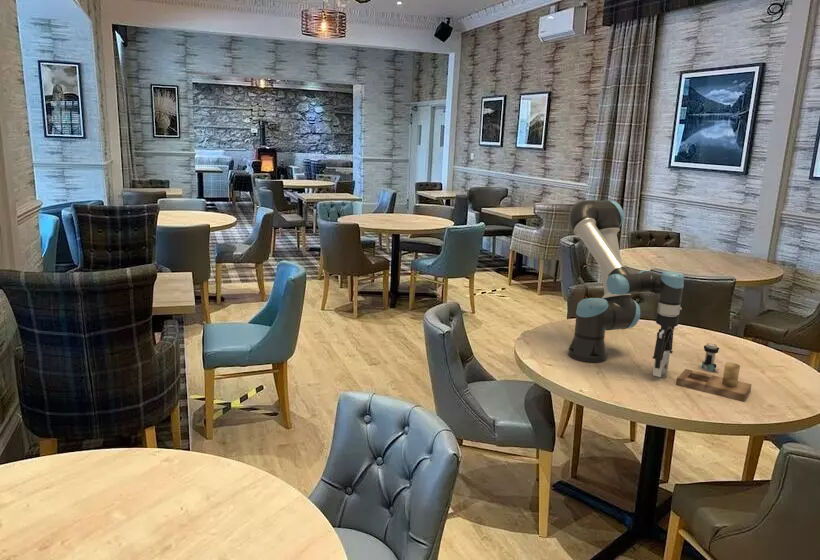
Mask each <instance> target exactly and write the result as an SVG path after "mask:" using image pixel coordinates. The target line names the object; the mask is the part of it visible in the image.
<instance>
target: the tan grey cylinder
mask: <svg viewBox="0 0 820 560" xmlns="http://www.w3.org/2000/svg"><path fill="white" fill-rule="evenodd" d="M669 355H671V353H670V351H669V350H667V349H665V350H664V354H663V359H662V360H663V364H662V372H661V377H658V376H654V377H655V378H658V379H666V378H667V376H668V369H669V365H668V362H669V363H670V357H669Z"/></svg>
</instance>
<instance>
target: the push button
mask: <svg viewBox="0 0 820 560" xmlns="http://www.w3.org/2000/svg"><path fill="white" fill-rule="evenodd" d="M703 350H704V351H705V357H704V361H702V363H701V368H702V369H704V371H705V370H706V371H708V372H715V373H717V372H718V370H719V368H717V364H716V363H715V359H716V354H718V353H719V351H720V347H718V345H717V344H716V343H715V344H714V343H706V344H705V345H703Z"/></svg>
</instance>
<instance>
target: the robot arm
mask: <svg viewBox="0 0 820 560" xmlns="http://www.w3.org/2000/svg"><path fill="white" fill-rule="evenodd" d="M568 213H569V214H568V223H569V227H570V229H571V231H572V232H573V234H574V235H575V236H577V237H579V238H580V239H581V241H582V243H584V245H585V247H586V248H587V249H588V251H589V253H590V255H592V257H593V258H594V260H595V261H596V262H597V264H598V265H599V269H600V274H601V281H602V287H603V296H601V297H588V298H583V299H581V300H580V301H578V303H577V306H576V311H575V325H574V336H573V338H572V339H571V340H572V341H571V342H570V345H569V347H568V352H567V353H568V356H569V357H570V358H571V359H574V360H576V361H579V362H585V363H602V362H605V361H606V360H607V359H608V351H607V346H606V342H605V337H606V336H605V334H606V331H615V330H626V329H631V328H634V327H635V326H636V325H637V323H638V322H639V321H640V318H641V308H640V304H639V303H638V302H637V301H636V300H634V299H632V294H647V293H650V294H655V295H657V296H658V302H657V309H656V312H657V313H656V316H655V323H656V324H657V325H659V326H660V328H659V330H658V332H657V333H656V340H655V341H656V342H655V347H654V352H653V355H652V360H653V359H654V362H653V369H652V376H654V377H655V376H658V377H661V372H662V364H663V360H662V359H663V354H664V350H665V349H667V350H669V351H670V355H671V354H673V352H674V351H673V342H674V331H675V327H678V325H679V321H680V316H679V315H680V311H682V310H683V309H682V307H681V304H682V296H683V291H684V287H685V286H684V284H685V283H684V282H685V276H684V274H683V273H681V272H678V271H677V272H676V271H670V270H668V271H667V270H666V271H663V272H661V274H660V273H656V272H653V271H651V270H640V271H638V272H636V273H635V272H634V273H630V271H629V270H628V269H627V268H626V266H625V265H624V263H623V262H622V257H621V252H620V251H621V250H620V245H619V239H618V233H619V232H620V231H621V226H622V225H623V223H624V221H623V220H624V218H625V213H624V211H623V208H622V206H621V204H619V203H618V202H617V201H614V200H608V199H604V200H602V199H600V200H587V199H585V200H581V201H578V202H576V203H575V204H574V205H573V206H572V207H571V209H570V210H569V212H568ZM670 355H669V358H670ZM669 363H670V361H669V362H668V366H669ZM658 377H657V378H658Z"/></svg>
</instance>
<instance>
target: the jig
mask: <svg viewBox="0 0 820 560" xmlns="http://www.w3.org/2000/svg"><path fill="white" fill-rule="evenodd" d="M740 368H741V366H740V364H738V363H735V362H725V364H724V367H723V376H718V375H713V374H709V373H705V372H701V371H696V370H692V369H688V368H685V369H684V370H683V371H682V372H681V373H680V374H679V375H678V376H677V378H676V381H675V382H676V383H675V384H676V385H677V386H679V387H680V386H681V387H684V388H687V389H688V388H689V389H692V390H696V391H700V392H705V393H708V394H713V395H716V396H721V397H725V398H728V399H732V400H736V401H741V402H745V401H746V399H747V398H748V396H749V394H750V393H751V389H752V384H751V383H747V382H743V381H739V376H740V375H739V374H740V370H741V369H740Z"/></svg>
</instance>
